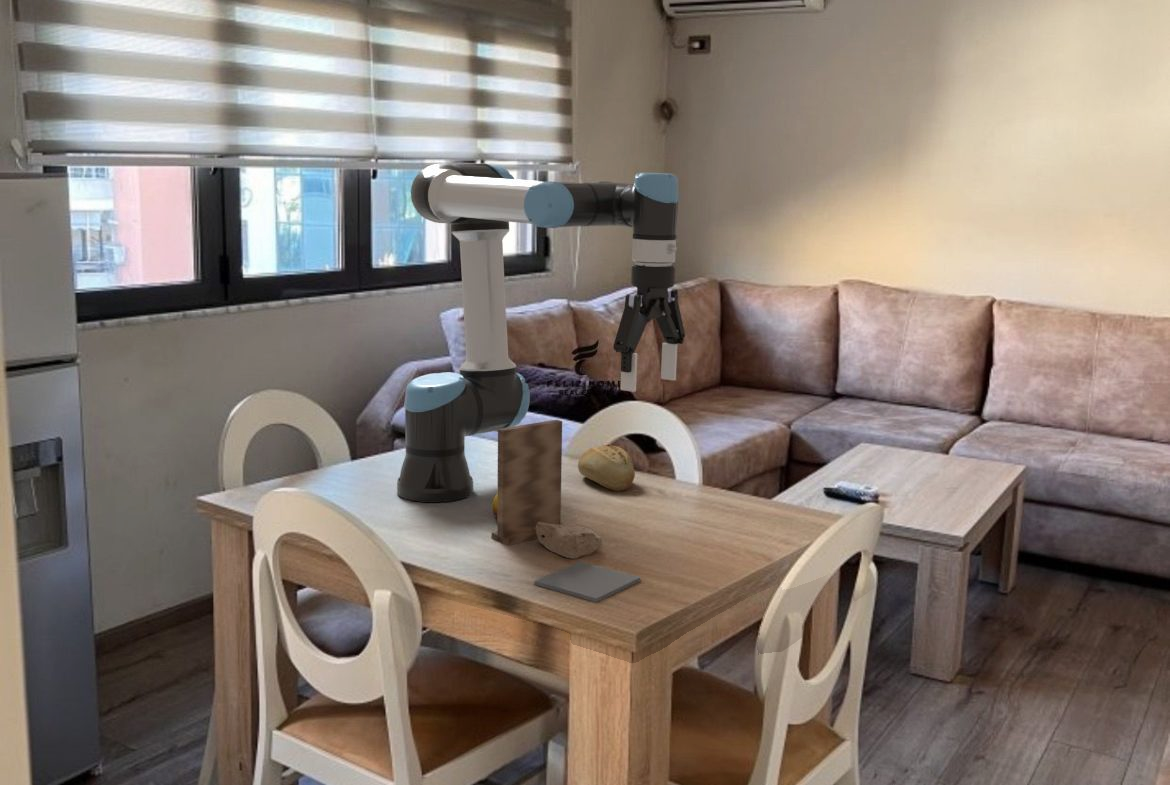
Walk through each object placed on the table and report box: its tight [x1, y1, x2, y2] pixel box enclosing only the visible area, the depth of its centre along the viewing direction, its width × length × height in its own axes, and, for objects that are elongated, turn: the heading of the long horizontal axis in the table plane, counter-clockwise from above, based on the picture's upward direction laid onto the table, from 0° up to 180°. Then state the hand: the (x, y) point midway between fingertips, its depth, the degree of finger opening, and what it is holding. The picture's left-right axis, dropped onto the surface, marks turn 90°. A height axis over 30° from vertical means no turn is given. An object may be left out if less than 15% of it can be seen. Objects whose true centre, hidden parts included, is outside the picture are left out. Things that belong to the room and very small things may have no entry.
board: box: [491, 419, 563, 546], centre depth 207 cm, size 13×5×20 cm, turn 131°
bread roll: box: [577, 443, 636, 492], centre depth 243 cm, size 10×15×8 cm, turn 35°
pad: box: [533, 561, 642, 603], centre depth 186 cm, size 12×12×1 cm
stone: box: [535, 522, 602, 560], centre depth 202 cm, size 9×11×5 cm
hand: (648, 385), depth 207 cm, fingers open, 13 cm apart
